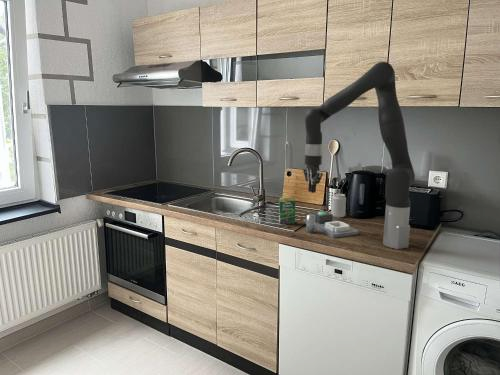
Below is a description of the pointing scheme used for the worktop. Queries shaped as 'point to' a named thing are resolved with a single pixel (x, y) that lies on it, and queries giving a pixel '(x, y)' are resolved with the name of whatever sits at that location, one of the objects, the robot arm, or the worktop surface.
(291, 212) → the coffee box
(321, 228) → the pallet
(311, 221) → the billet
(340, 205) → the can
